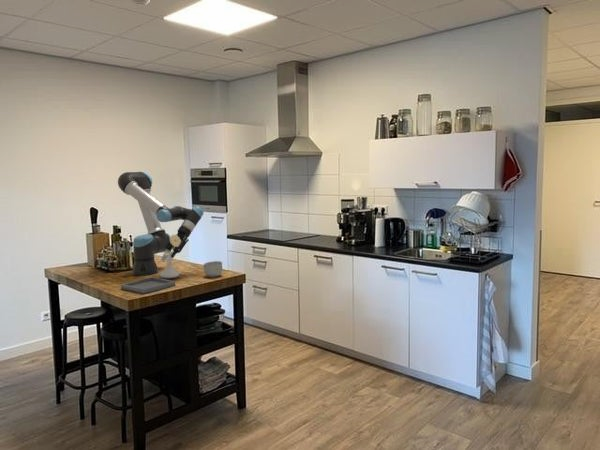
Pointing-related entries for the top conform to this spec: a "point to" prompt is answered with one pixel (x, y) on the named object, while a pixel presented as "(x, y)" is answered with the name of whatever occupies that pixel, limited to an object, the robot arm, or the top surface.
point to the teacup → (213, 268)
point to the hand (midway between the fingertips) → (164, 261)
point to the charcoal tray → (148, 285)
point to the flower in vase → (169, 270)
